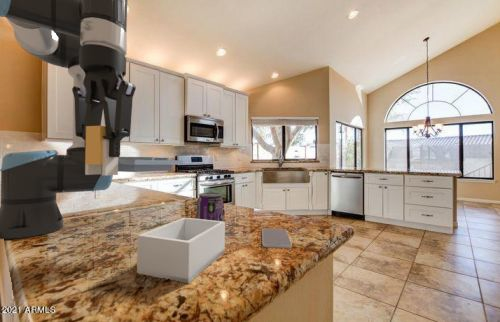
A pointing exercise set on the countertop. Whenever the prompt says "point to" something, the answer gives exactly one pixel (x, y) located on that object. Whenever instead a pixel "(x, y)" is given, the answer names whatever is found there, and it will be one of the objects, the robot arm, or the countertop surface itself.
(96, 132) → the lid
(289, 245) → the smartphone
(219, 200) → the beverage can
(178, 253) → the tub
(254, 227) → the countertop surface
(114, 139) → the robot arm
